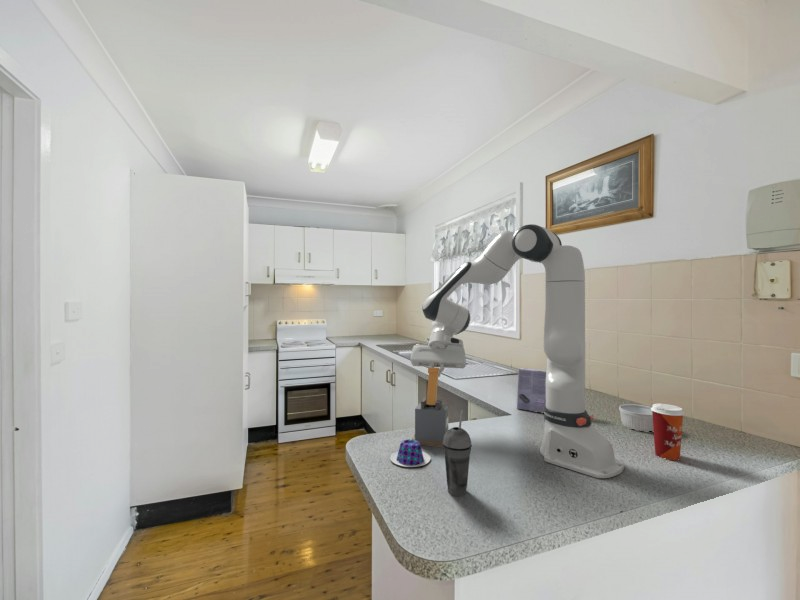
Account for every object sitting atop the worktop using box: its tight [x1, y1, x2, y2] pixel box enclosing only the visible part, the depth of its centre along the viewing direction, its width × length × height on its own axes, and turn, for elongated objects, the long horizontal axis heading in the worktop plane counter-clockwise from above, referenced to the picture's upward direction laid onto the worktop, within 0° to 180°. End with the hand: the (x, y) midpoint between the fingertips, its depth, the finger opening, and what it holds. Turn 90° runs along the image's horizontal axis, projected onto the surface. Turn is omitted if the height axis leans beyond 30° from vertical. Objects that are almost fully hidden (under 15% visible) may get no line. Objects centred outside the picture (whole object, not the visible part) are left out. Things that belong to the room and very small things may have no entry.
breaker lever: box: [426, 367, 440, 408], centre depth 122 cm, size 2×4×13 cm, turn 74°
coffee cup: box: [651, 403, 685, 461], centre depth 109 cm, size 8×8×15 cm
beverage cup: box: [442, 409, 473, 497], centre depth 89 cm, size 7×7×20 cm
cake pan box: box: [516, 367, 547, 414], centre depth 153 cm, size 19×5×18 cm, turn 58°
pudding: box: [389, 438, 431, 468], centre depth 107 cm, size 12×12×5 cm
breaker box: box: [411, 397, 450, 448], centre depth 121 cm, size 8×12×14 cm, turn 74°
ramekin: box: [618, 403, 653, 432], centre depth 134 cm, size 13×13×7 cm
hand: (435, 375), depth 127 cm, fingers closed
